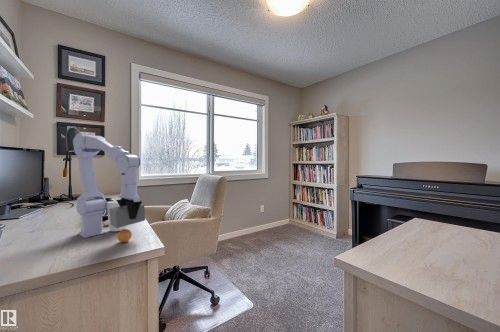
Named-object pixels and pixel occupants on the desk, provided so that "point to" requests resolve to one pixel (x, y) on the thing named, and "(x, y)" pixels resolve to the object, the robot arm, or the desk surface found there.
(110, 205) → the foam cup
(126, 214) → the grey rectangular brick
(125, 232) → the ball
